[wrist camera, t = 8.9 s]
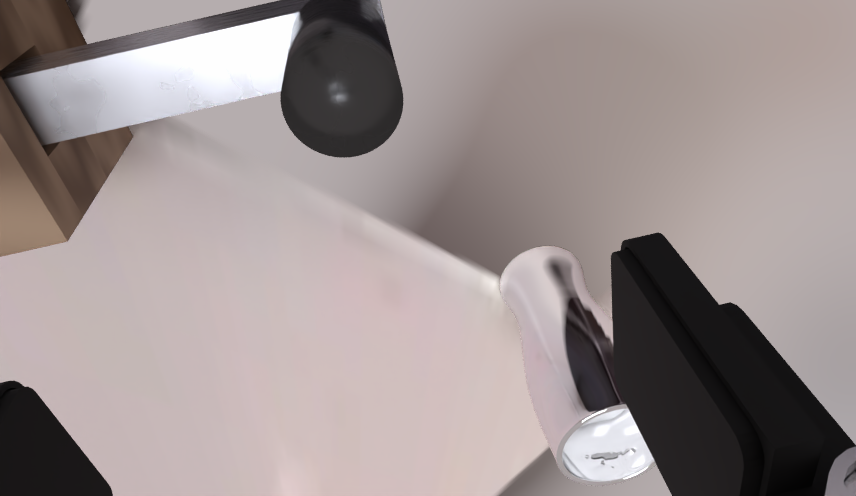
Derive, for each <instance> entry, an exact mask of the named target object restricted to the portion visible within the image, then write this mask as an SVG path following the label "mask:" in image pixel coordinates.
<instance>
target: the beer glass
mask: <svg viewBox="0 0 856 496" xmlns="http://www.w3.org/2000/svg"><path fill="white" fill-rule="evenodd" d="M500 293H501V296H502V298H503V300H504V302H505V303H506V305H507V306H508V307H509V309H510V310H511V311H512V313H513V314H514V316H515V318H516V320H517V323H518V326H519V330H520V337H521V345H522V354H523V363H524V371H525V376H526V382H527V387H528V391H529V395H530V398H531V401H532V405H533V408H534V411H535V413H536V416H537V419H538V421H539V424H540V426H541V429H542V431H543V433H544V435H545V438H546V440H547V442H548V444H549V446H550V448H551V450H552V452H553V455H554V457H555V459H556V461H557V465H558V467H559V469H560V471H561V472H562V473H563V474H564V475H565V476H566V477H567V478H569V479H570V480H572V481H574V482H577V483H580V484H584V485H591V486H604V485H612V484H617V483H621V482H625V481H628V480H630V479H633V478H635V477H638V476H640V475H642V474H644V473H645V472H647V471H649V470H650V469H652V468H653V467H655V466H656V463H655V461H654V459H653V457H652V455H651V453H650V451H649V449H648V447H647V445H646V443H645V441H644V439H643V437H642V435H641V433H640V431H639V429H638V427H637V425H636V423H635V421H634V419H633V417H632V415H631V413H630V411H629V409H628V407H627V405H626V403H625V401H624V399H623V397H622V395H621V393H620V391H619V389H618V386H617V383H616V379H615V374H614V356H613V320H612V319H611V318H610V317H609V316H608V314H607V313H606V312H605V311H604V310H603V309H602V308H601V307H600V306H599V305H598V304H597V302H596V301H595V300H594V299H593V297H592V296H591V294H590V293H589V291H588V289H587V286H586V283H585V278H584V274H583V271H582V267H581V265H580V262H579V261H578V259H577V258H576V257H575V256H574V255H573V254H572V253H571V252H569V251H568V250H566V249H564V248H561V247H557V246H539V247H535V248H532V249H529V250H527V251H524V252H523V253H521V254H519V255H518V256H516V257H515V258H514V259H513V260H512V261H511V262H510V263H509V264H508V265H507V267H506V268H505V269H504V271H503V273H502V276H501V279H500Z"/></svg>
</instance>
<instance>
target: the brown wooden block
mask: <svg viewBox="0 0 856 496" xmlns="http://www.w3.org/2000/svg"><path fill="white" fill-rule="evenodd" d="M82 45H87V43H86V41H85V39H84V37H83V35H82V33H81V31H80V29H79V27H78V25H77V23H76V21H75V19H74V17H73V15H72V13H71V11H70V9H69V7H68V5H67V3H66V1H65V0H0V71H1V70H2V69H3V68H5V67H6V66H7V65H9V64H10V63H11V62H13V61H17V60H21V59H25V58H30V57H34V56H39V55H43V54H47V53H52V52H56V51H60V50H65V49H69V48H74V47H78V46H82ZM132 138H133V136H132V134H131V132H130V130H129V128H128V126H126V127H122V128H117V129H113V130H108V131H104V132H100V133H95V134H91V135H86V136H82V137H78V138H73V139H69V140H65V141H60V142H56V143H51V144H47V145H43V146H41V144H40V142H39V141H38V139H37V137H36V136H35V134H34V132H33V130H32V129H31V127H30V125H29V124H28V122H27V120H26V119H25V117H24V115H23V113H22V112H21V110H20V108H19V107H18V105H17V103H16V102H15V100H14V98H13V96H12V95H11V93H10V91H9V90H8V88H7V86H6V85H5V83H4V81H3V79H2V78H1V76H0V257H1V256H6V255H10V254H14V253H19V252H23V251H28V250H32V249H36V248H41V247H45V246H50V245H54V244H58V243H63V242H67V241H68V240H69V238H70V237H71V235H72V234H73V232H74V230H75V229H76V227H77V226H78V224H79V222H80V221H81V219H82V218H83V216H84V214H85V213H86V211H87V210H88V208H89V206H90V205H91V203H92V202H93V200H94V198H95V197H96V195H97V194H98V192H99V190H100V189H101V187H102V186H103V184H104V182H105V181H106V179H107V178H108V176H109V174H110V173H111V171H112V170H113V168H114V166H115V165H116V163H117V162H118V160H119V158H120V157H121V155H122V154H123V152H124V150H125V149H126V147H127V146H128V144H129V142H130V141H131V139H132Z"/></svg>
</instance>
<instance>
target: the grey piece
mask: <svg viewBox="0 0 856 496" xmlns="http://www.w3.org/2000/svg"><path fill="white" fill-rule="evenodd" d="M0 76H1V78H2V79H3V81H4V83H5V85H6V86H7V88H8V90H9V91H10V93H11V95H12V96H13V98H14V100H15V102H16V103H17V105H18V107H19V108H20V110H21V112H22V113H23V115H24V117H25V119H26V120H27V122H28V124H29V125H30V127H31V129H32V130H33V132H34V134H35V136H36V137H37V139H38V141H39V142H40V144H41V146H43V145H47V144H51V143H56V142H60V141H65V140H69V139H73V138H78V137H82V136H86V135H91V134H95V133H100V132H104V131H108V130H113V129H117V128H122V127H126V126H130V125H135V124H139V123H143V122H148V121H152V120H157V119H161V118H165V117H170V116H174V115H178V114H183V113H187V112H192V111H196V110H200V109H205V108H209V107H213V106H218V105H222V104H226V103H231V102H235V101H240V100H244V99H248V98H253V97H257V96H262V95H266V94H270V93H275V92H279V91H281V107H282V111H283V115H284V118H285V120H286V123H287V124H288V126H289V128H290V130H291V131H292V132H293V134H294V135H295V136H296V137H297V138H298V139H299V140H300V141H301V142H302V143H304V144H305V145H306V146H308V147H309V148H311V149H313V150H315V151H317V152H319V153H322V154H325V155H328V156H333V157H354V156H359V155H362V154H365V153H368V152H370V151H372V150H374V149H375V148H377V147H379V146H380V145H382V144H383V143H384V142H385V141H386V140H387V139H388V138H389V137H390V136H391V135H392V133H393V132H394V130H395V129H396V127H397V125H398V123H399V120H400V118H401V114H402V109H403V93H402V87H401V83H400V79H399V75H398V72H397V68H396V64H395V60H394V57H393V52H392V49H391V45H390V41H389V37H388V34H387V29H386V25H385V20H384V16H383V11H382V7H381V2H380V0H280V1H276V2H271V3H267V4H262V5H258V6H253V7H249V8H244V9H240V10H236V11H231V12H227V13H222V14H218V15H214V16H209V17H206V18H201V19H197V20H192V21H187V22H183V23H179V24H175V25H170V26H166V27H161V28H157V29H152V30H149V31H144V32H139V33H135V34H131V35H126V36H122V37H118V38H114V39H109V40H105V41H100V42H95V43H91V44H87V45H82V46H78V47H74V48H69V49H65V50H60V51H56V52H52V53H47V54H43V55H39V56H34V57H30V58H25V59H21V60H17V61H13V62H11V63H10V64H9V65H7V66H6V67H5V68H3V69H2V70H1V71H0Z"/></svg>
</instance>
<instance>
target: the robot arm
mask: <svg viewBox="0 0 856 496" xmlns="http://www.w3.org/2000/svg"><path fill="white" fill-rule="evenodd" d="M611 277H612V278H611V279H612V318H613V356H614V374H615V379H616V383H617V386H618V389H619V391H620V393H621V395H622V397H623V399H624V401H625V403H626V405H627V407H628V409H629V411H630V413H631V415H632V417H633V419H634V421H635V423H636V425H637V427H638V429H639V431H640V433H641V435H642V437H643V439H644V441H645V443H646V445H647V447H648V449H649V451H650V453H651V455H652V457H653V459H654V461H655V463H656V465H657V467H658V469H659V471H660V473H661V474H662V476H663V478H664V480H665V482H666V484H667V486H668V488H669V490H670V492H671V494H672V496H856V445H855V444H854V443H853V441H852V440H851V439H850V438H849V437H848V436H847V434H846V433H845V432H844V431H843V429H842V428H841V427H840V426H839V425H838V423H837V422H836V421H835V420H834V419H833V417H832V416H831V415H830V414H829V413H828V412H827V410H826V409H825V408H824V407H823V405H822V404H821V403H820V402H819V401H818V400H817V398H816V397H815V396H814V395H813V394H812V393H811V391H810V390H809V389H808V388H807V386H806V385H805V384H804V383H803V382H802V380H801V379H800V378H799V377H798V376H797V375H796V373H795V372H794V371H793V370H792V368H791V367H790V366H789V365H788V364H787V363H786V361H785V360H784V359H783V358H782V357H781V355H780V354H779V353H778V352H777V351H776V350H775V348H774V347H773V346H772V345H771V343H769V341H768V340H767V339H766V337H765V336H764V335H763V334H762V333H761V332H760V330H759V329H758V328H757V327H756V326H755V324H754V323H753V322H752V321H751V320H750V319H749V317H748V316H747V315H746V314H745V313H744V311H743V310H741V309H740V308H739V307H738V306H737V305H735V304H733V303H725V304H722V305H719V304H718V303H717V302H716V301H715V299H714V298H713V297H712V295H711V294H710V293H709V292H708V290H707V289H706V288H705V287H704V285H703V284H702V283H701V282H700V280H699V279H698V278H697V277H696V275H695V274H694V273H693V272H692V270H691V269H690V268H689V267H688V265H687V264H686V263H685V262H684V261H683V259H682V258H681V257H680V255H679V254H678V253H677V252H676V250H675V249H674V248H673V247H672V245H671V244H670V243H669V242H668V240H667V239H666V238H665V237H664V236H663V235H662V234H661V233H654V234H650V235H645V236H641V237H637V238H632V239H628V240H624V241H623V242H622V245H621V251H617V252H613V253H612V255H611ZM0 496H113V494H112V490H111V488H110V486H109V484H108V483H107V482H106V480H105V479H104V478H103V477H102V475H101V474H100V473H99V472H98V470H97V469H96V468H95V466H94V465H93V464H92V463H91V461H90V460H89V459H88V458H87V456H86V455H85V454H84V453H83V451H82V450H81V449H80V447H79V446H78V445H77V444H76V442H75V441H74V440H73V439H72V437H71V436H70V435H69V434H68V432H67V431H66V430H65V429H64V427H63V426H62V425H61V423H60V422H59V421H58V420H57V418H56V417H55V416H54V415H53V413H52V412H51V411H50V410H49V408H48V407H47V406H46V404H45V403H44V402H43V401H42V399H41V398H40V397H39V396H38V394H37V393H36V392H35V391H34V390H33V389H32V388H29V387H24V386H23V385H22V384H20V383H19V382H16V381H7V382H3V383H0Z"/></svg>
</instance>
